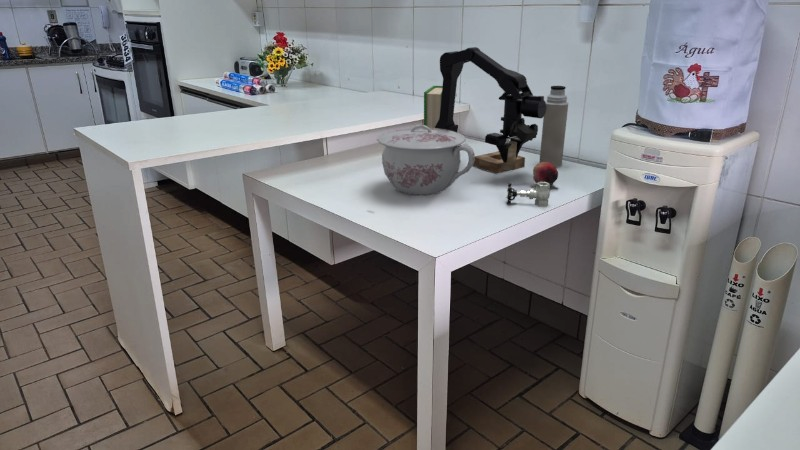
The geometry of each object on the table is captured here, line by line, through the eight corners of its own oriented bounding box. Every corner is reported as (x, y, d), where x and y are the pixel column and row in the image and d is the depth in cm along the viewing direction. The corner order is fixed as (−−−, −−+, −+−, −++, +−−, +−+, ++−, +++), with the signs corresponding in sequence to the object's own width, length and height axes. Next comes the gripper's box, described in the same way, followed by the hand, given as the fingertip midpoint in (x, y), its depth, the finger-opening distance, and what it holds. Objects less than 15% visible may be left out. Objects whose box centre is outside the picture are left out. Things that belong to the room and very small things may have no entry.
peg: (509, 171, 182) (511, 144, 179) (500, 168, 185) (502, 142, 182) (517, 169, 184) (519, 142, 181) (508, 166, 187) (510, 140, 184)
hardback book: (442, 155, 213) (443, 92, 204) (423, 154, 215) (424, 92, 206) (450, 144, 229) (451, 86, 220) (432, 143, 231) (433, 85, 222)
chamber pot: (367, 181, 183) (365, 119, 175) (442, 172, 192) (443, 113, 184) (396, 209, 159) (395, 138, 151) (480, 197, 168) (483, 130, 160)
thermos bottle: (537, 161, 205) (544, 84, 194) (559, 161, 204) (567, 84, 193) (540, 167, 197) (548, 87, 187) (563, 167, 196) (572, 87, 186)
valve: (547, 201, 164) (506, 199, 166) (549, 180, 161) (508, 179, 163) (549, 209, 158) (507, 207, 160) (551, 187, 155) (508, 185, 157)
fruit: (547, 181, 181) (549, 158, 178) (561, 188, 175) (564, 164, 172) (527, 184, 179) (529, 160, 176) (541, 191, 172) (543, 167, 169)
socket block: (496, 173, 190) (497, 163, 189) (472, 166, 199) (473, 156, 198) (524, 166, 198) (525, 157, 196) (500, 159, 207) (500, 150, 205)
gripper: (510, 122, 167) (507, 171, 173) (551, 115, 177) (546, 161, 183) (485, 116, 175) (482, 164, 181) (525, 110, 185) (521, 155, 191)
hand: (509, 161), depth 184 cm, fingers closed on peg, 4 cm apart
